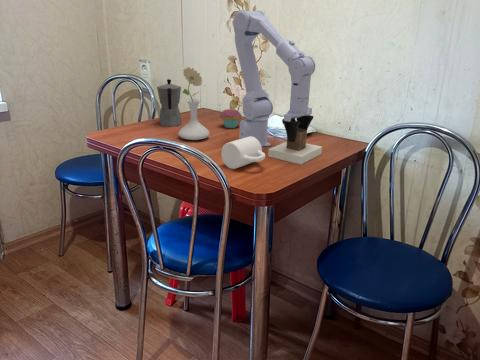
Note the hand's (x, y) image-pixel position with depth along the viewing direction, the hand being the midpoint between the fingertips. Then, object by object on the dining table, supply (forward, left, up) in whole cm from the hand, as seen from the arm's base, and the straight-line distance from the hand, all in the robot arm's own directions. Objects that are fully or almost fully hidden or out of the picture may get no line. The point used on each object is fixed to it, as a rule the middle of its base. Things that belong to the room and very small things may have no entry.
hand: (296, 139), depth 137 cm
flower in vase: (-28, +28, -6) cm, 40 cm away
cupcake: (-10, +40, -6) cm, 42 cm away
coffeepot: (-33, +49, -6) cm, 59 cm away
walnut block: (0, 0, -3) cm, 3 cm away
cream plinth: (0, 0, -5) cm, 5 cm away
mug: (-19, -6, -6) cm, 21 cm away
